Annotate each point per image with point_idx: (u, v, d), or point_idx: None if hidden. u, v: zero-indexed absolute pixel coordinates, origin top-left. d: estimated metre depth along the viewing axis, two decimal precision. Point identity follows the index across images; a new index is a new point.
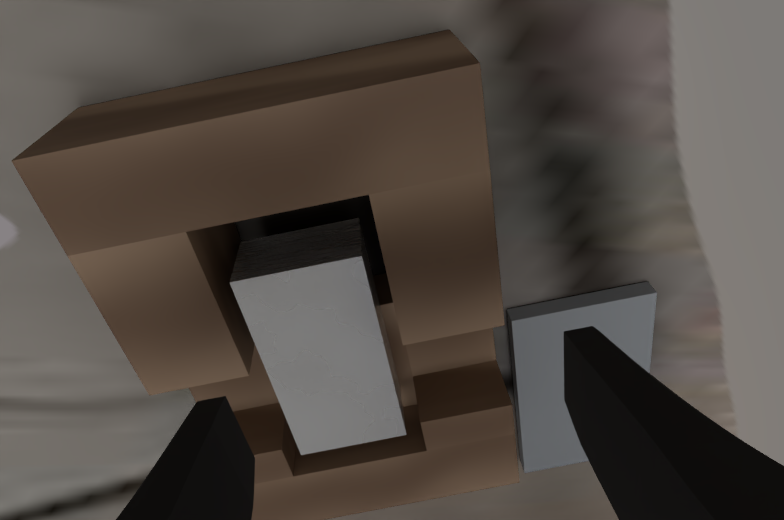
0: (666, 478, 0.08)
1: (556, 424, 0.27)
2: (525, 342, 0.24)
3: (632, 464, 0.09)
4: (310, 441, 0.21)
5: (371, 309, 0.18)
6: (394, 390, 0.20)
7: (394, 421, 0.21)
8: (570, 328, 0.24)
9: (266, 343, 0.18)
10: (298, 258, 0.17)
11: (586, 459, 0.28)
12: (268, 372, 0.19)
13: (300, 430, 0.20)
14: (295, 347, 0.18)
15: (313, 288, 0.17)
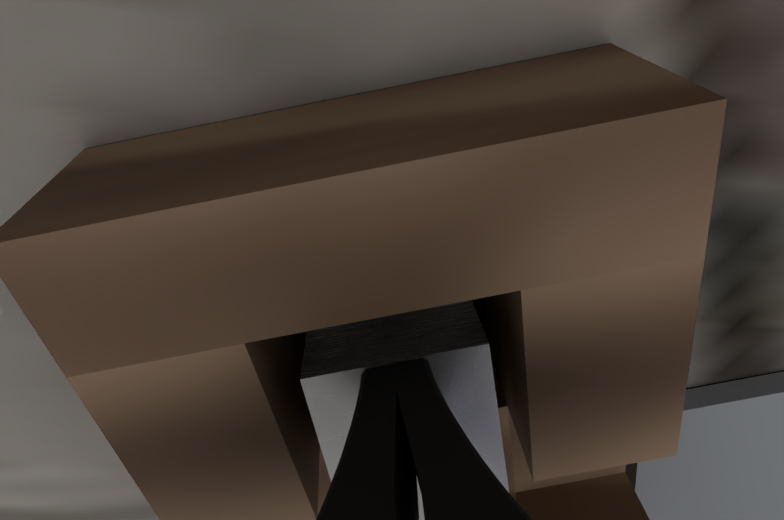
0: None
1: None
2: None
3: None
4: None
5: (494, 419, 0.12)
6: None
7: None
8: (713, 426, 0.18)
9: None
10: (395, 345, 0.12)
11: None
12: None
13: None
14: None
15: None
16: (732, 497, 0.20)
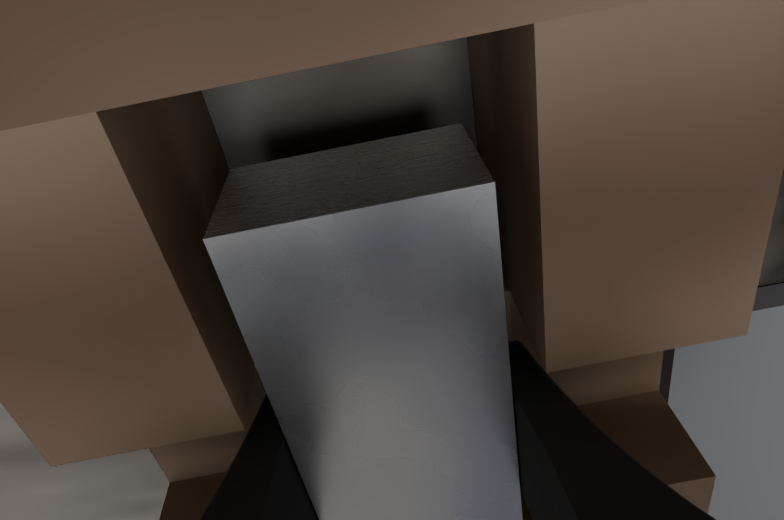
0: (560, 498, 0.08)
1: None
2: (692, 359, 0.15)
3: (540, 481, 0.09)
4: None
5: (497, 300, 0.09)
6: (515, 453, 0.11)
7: (506, 505, 0.11)
8: (768, 338, 0.15)
9: (280, 368, 0.09)
10: (351, 190, 0.08)
11: None
12: (282, 423, 0.10)
13: None
14: (337, 376, 0.09)
15: (383, 255, 0.08)
16: (782, 435, 0.17)
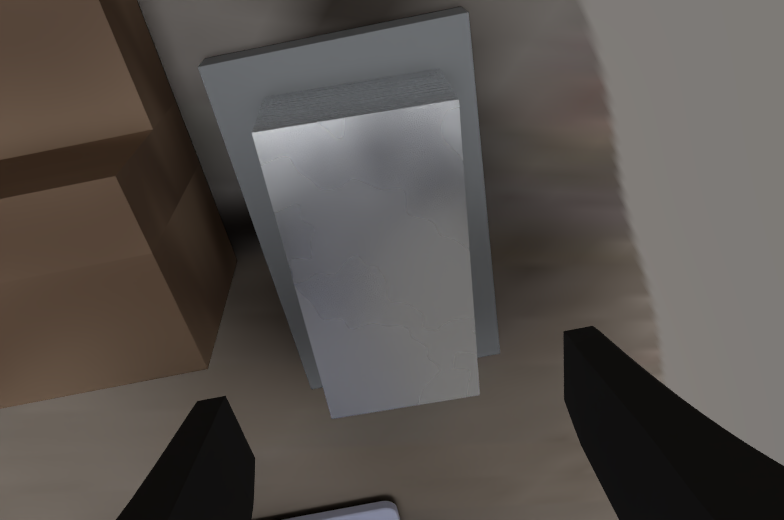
0: (666, 478, 0.08)
1: None
2: (239, 119, 0.13)
3: (631, 464, 0.09)
4: (346, 399, 0.15)
5: (460, 193, 0.12)
6: (473, 327, 0.14)
7: (466, 374, 0.15)
8: None
9: (299, 241, 0.12)
10: (357, 105, 0.11)
11: None
12: (297, 289, 0.13)
13: (334, 382, 0.14)
14: (341, 250, 0.12)
15: (378, 151, 0.11)
16: None
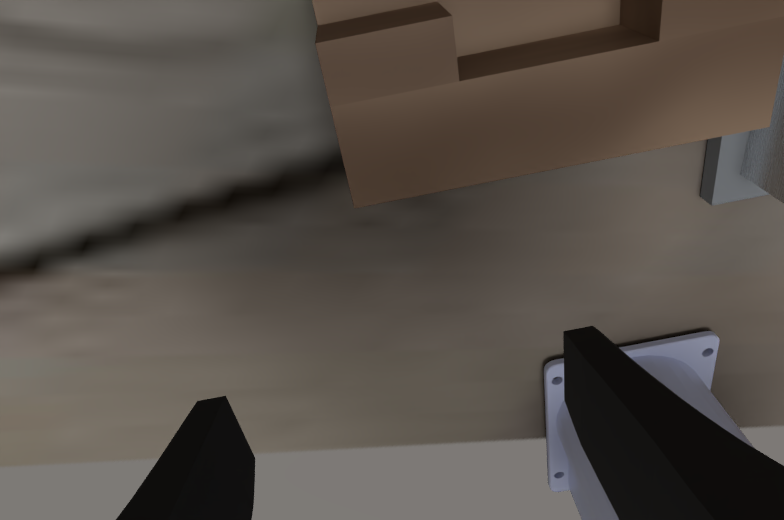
0: (666, 478, 0.08)
1: None
2: None
3: (631, 464, 0.09)
4: None
5: None
6: None
7: None
8: None
9: None
10: None
11: None
12: None
13: None
14: None
15: None
16: None
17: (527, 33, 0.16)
